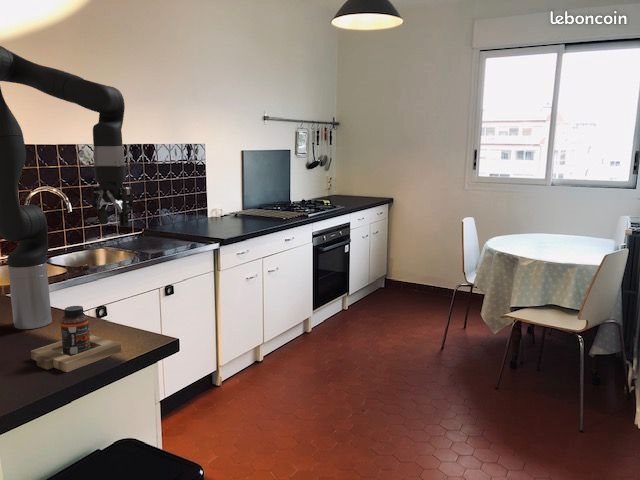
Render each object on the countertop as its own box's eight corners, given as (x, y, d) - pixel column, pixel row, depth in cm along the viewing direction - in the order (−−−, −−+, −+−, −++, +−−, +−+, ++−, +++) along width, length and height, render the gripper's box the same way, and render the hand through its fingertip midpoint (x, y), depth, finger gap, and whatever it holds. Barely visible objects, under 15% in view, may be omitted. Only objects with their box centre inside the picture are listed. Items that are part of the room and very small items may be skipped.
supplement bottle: (80, 359, 120) (76, 312, 118) (57, 357, 121) (53, 310, 120) (96, 350, 126) (92, 304, 124) (74, 348, 127) (70, 303, 125)
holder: (24, 361, 120) (24, 352, 120) (85, 340, 133) (85, 333, 133) (60, 374, 113) (59, 366, 113) (121, 351, 126) (120, 343, 125)
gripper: (79, 164, 137) (84, 225, 140) (114, 164, 130) (118, 229, 133) (104, 163, 144) (109, 221, 146) (139, 164, 136) (143, 225, 139)
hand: (113, 225), depth 139 cm, fingers open, 8 cm apart
